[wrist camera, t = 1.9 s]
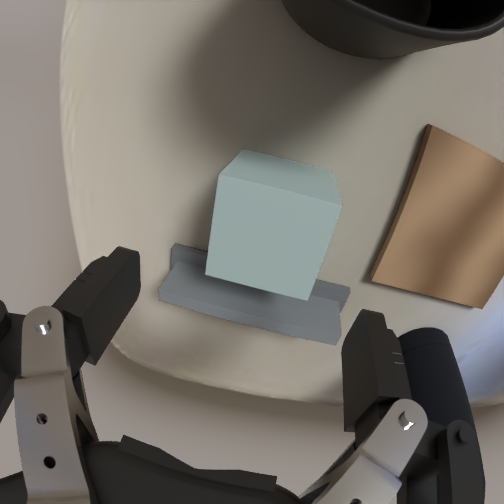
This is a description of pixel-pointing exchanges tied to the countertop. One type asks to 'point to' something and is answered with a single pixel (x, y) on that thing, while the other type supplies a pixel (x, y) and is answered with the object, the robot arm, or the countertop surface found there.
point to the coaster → (447, 224)
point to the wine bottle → (436, 380)
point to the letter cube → (272, 223)
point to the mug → (395, 23)
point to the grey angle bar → (253, 300)
